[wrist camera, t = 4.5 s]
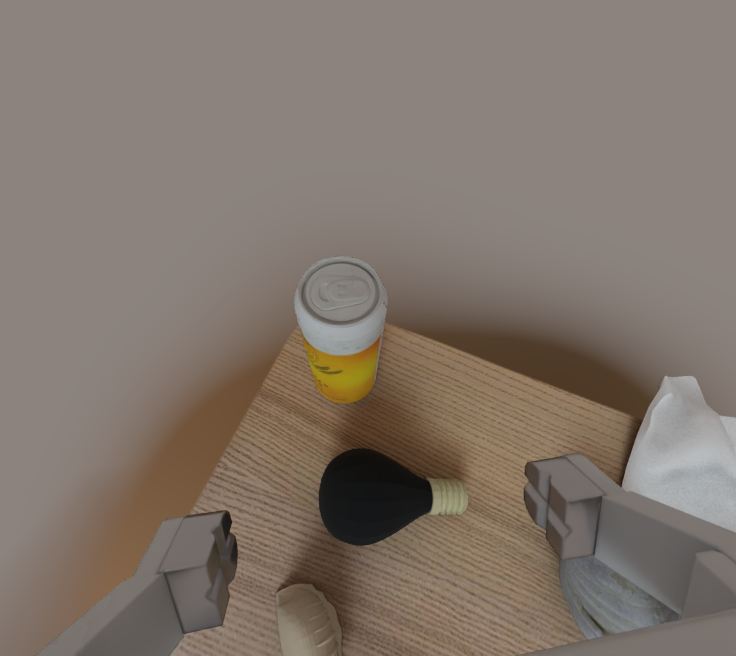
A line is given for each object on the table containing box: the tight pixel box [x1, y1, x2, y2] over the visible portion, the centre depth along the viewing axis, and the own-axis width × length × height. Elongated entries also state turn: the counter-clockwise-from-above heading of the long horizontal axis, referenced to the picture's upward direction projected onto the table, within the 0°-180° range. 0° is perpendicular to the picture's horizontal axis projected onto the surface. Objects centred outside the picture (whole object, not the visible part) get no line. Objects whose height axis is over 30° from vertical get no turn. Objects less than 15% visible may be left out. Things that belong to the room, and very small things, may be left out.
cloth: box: [621, 376, 736, 533], centre depth 28 cm, size 26×14×2 cm, turn 172°
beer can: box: [294, 256, 388, 404], centre depth 29 cm, size 6×6×15 cm
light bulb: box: [319, 448, 468, 546], centre depth 28 cm, size 7×7×12 cm
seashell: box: [559, 555, 681, 640], centre depth 26 cm, size 12×8×5 cm
